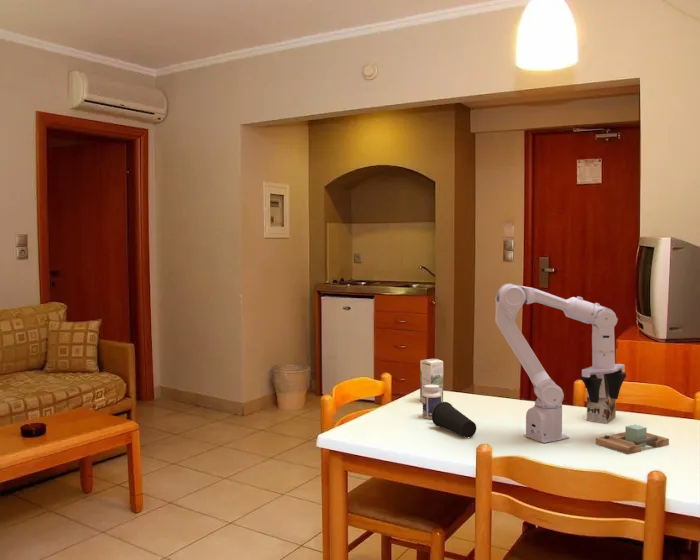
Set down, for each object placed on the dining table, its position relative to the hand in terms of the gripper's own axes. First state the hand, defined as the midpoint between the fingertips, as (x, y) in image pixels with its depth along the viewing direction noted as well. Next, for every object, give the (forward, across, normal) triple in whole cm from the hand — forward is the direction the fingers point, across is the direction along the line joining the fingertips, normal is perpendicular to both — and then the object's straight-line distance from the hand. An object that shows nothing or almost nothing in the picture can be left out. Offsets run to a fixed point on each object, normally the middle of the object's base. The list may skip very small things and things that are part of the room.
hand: (604, 400), depth 177 cm
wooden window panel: (+10, +2, -8) cm, 13 cm away
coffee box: (+11, +16, +14) cm, 24 cm away
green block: (+11, +1, -9) cm, 14 cm away
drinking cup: (+7, -32, +18) cm, 37 cm away
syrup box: (+10, -16, +59) cm, 62 cm away
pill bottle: (+10, -28, +42) cm, 51 cm away
